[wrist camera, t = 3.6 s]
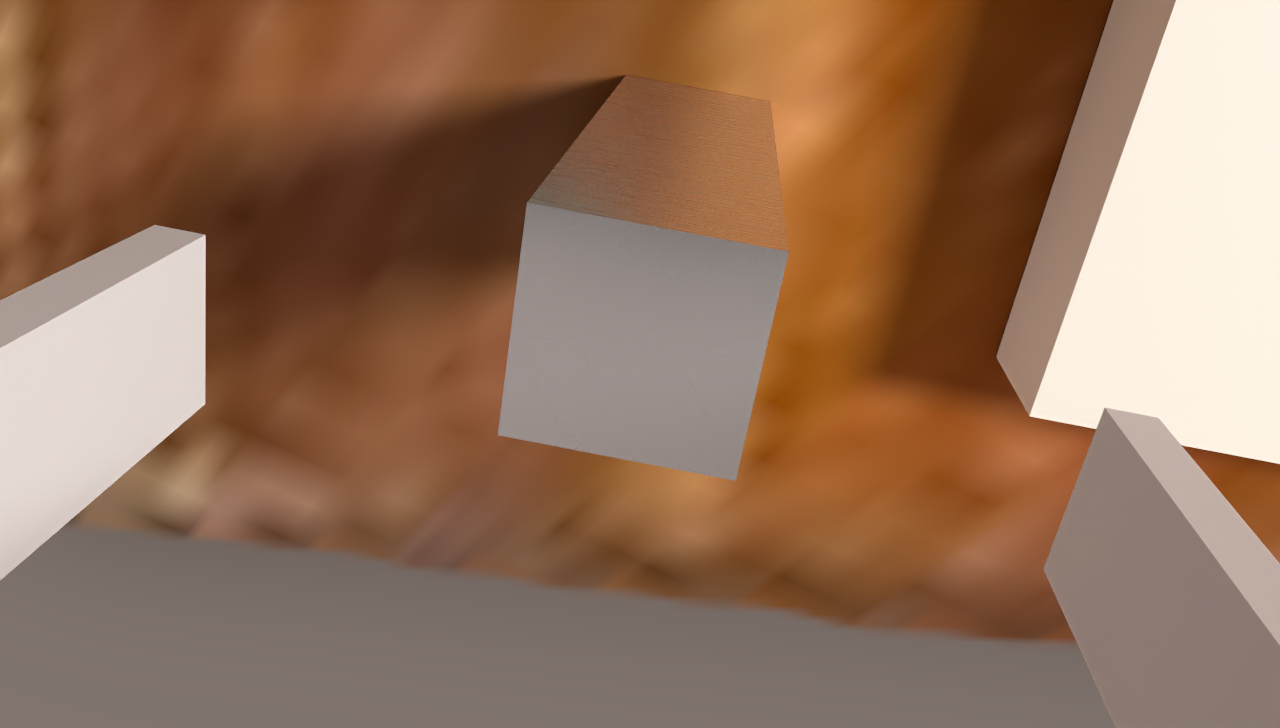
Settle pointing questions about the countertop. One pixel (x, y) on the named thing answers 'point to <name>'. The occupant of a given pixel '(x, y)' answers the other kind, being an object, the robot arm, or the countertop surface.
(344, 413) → the countertop surface
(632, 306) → the square bit
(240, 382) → the countertop surface
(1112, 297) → the bore block
